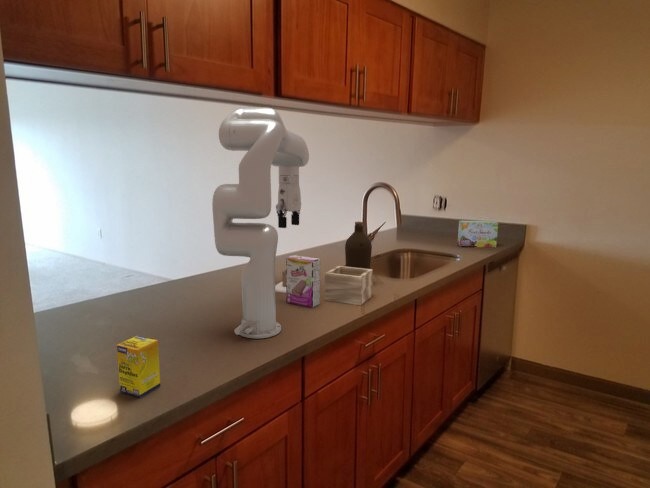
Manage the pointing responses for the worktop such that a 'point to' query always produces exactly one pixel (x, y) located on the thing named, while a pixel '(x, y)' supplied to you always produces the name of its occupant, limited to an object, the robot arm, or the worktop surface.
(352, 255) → the olive oil
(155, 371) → the supplement box
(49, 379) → the worktop surface
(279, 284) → the lid
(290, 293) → the candy bar box
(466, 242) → the snack box
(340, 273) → the box
